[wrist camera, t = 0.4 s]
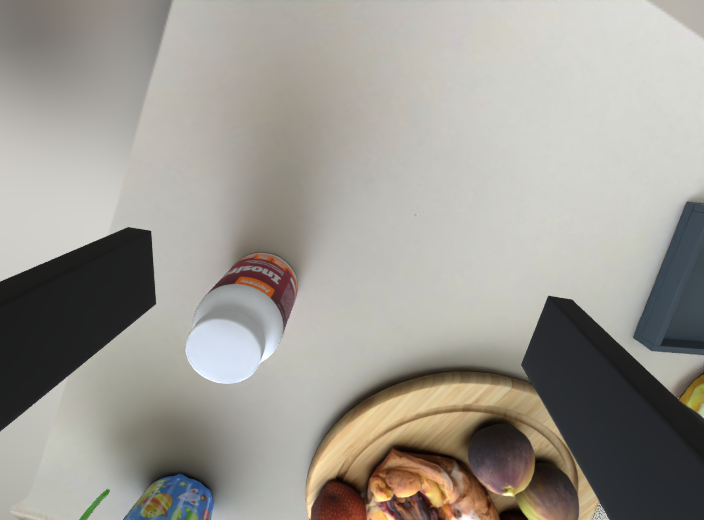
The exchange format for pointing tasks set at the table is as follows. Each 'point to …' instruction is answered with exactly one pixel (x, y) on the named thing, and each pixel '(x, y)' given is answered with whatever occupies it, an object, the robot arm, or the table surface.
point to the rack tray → (678, 292)
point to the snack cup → (168, 501)
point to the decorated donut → (695, 396)
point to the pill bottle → (242, 318)
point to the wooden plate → (448, 456)
